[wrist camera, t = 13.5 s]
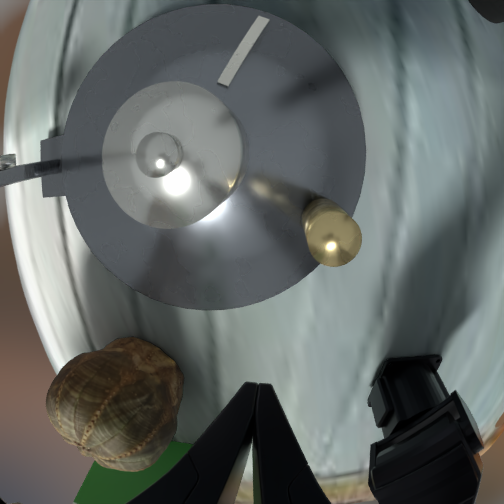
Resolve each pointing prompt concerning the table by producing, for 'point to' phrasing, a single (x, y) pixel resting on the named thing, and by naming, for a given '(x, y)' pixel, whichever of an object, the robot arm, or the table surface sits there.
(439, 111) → the table surface
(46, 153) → the dial stand
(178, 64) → the platter
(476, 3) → the drinking cup
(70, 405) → the shell
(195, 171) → the cover
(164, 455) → the hardback book
